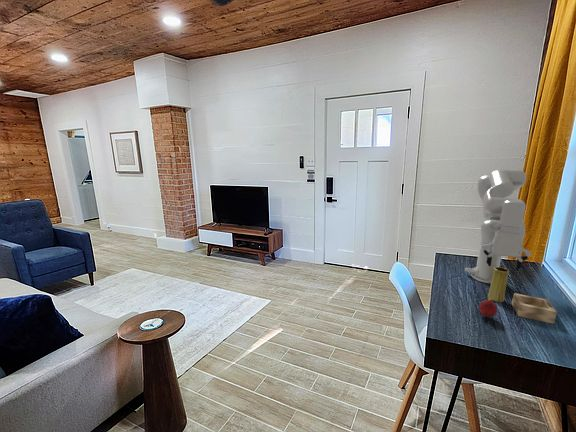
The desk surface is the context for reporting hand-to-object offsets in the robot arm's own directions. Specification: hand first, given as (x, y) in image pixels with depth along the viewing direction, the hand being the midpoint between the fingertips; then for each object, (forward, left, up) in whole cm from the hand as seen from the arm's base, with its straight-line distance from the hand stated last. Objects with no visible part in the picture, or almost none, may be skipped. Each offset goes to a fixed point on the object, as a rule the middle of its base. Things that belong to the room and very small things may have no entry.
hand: (502, 267), depth 121 cm
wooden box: (+11, -6, -15) cm, 20 cm away
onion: (-6, -19, -16) cm, 26 cm away
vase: (0, +1, -16) cm, 16 cm away
